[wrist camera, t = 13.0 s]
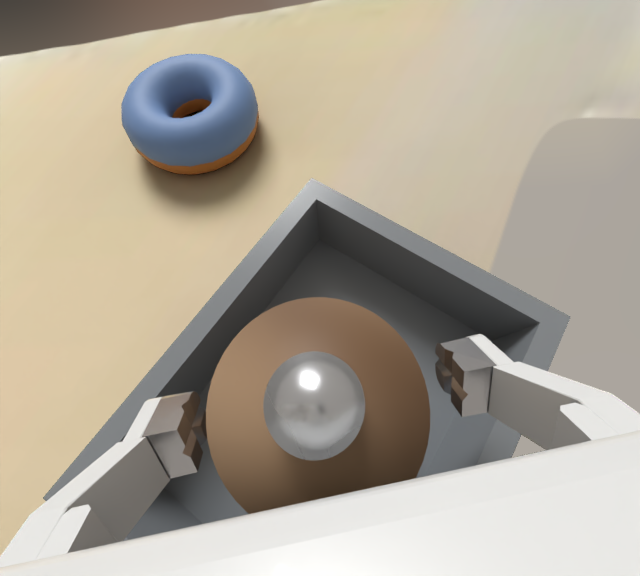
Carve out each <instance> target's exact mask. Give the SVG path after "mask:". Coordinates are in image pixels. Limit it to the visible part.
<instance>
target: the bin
mask: <svg viewBox="0 0 640 576" xmlns="http://www.w3.org/2000/svg"><path fill="white" fill-rule="evenodd" d="M310 297H327V298H335V299H340V300H344V301H348V302H351V303H354V304H357V305H359V306H362V307H364V308H366V309H367V310H369V311H371V312H373V313H375V314H376V315H378V316H379V317H380V318H382V319H383V320H385V321H386V322H387V323H388V324H389V325H390V326H391V327H392V328H394V329H395V330H396V331H397V333H398V334H399V335H400V336H401V337H402V338H403V339H404V341H405V342H406V343H407V345H408V346H409V348H410V349H411V351H412V352H413V354H414V356H415V358H416V360H417V362H418V364H419V366H420V368H421V371H422V374H423V377H424V379H425V383H426V387H427V391H428V395H429V404H430V432H429V440H428V446H427V449H426V453H425V456H424V460H423V463H422V465H421V467H420V470H419V472H418V474H417V477H416V478H419V477H424V476H429V475H433V474H438V473H442V472H447V471H452V470H456V469H461V468H466V467H470V466H475V465H480V464H484V463H489V462H494V461H498V460H503V459H508V458H512V455H513V453H514V450H515V448H516V446H517V443H518V441H519V439H520V436H521V434H520V433H518V432H517V431H515V430H513V429H512V428H510V427H509V426H507V425H505V424H504V423H502V422H501V421H499V420H497V419H496V418H494V417H492V416H491V415H489V414H488V413H482V414H477V415H471V416H465V417H461V415H460V414H459V413H458V411H457V410H456V408H455V407H454V405H453V404H452V402H451V395H450V394H448V393H446V392H444V391H443V389H442V388H441V386H440V384H439V382H438V380H437V376H436V371H435V364H436V362H437V361H438V359H439V357H438V356H437V355H436V353H435V347H436V344H437V343H441V342H445V341H450V340H455V339H460V338H465V337H468V336H472V335H477V334H482V335H484V336H485V337H486V338H487V339H489V340H490V341H491V342H492V343H493V344H494V345H495V346H496V347H498V348H499V349H500V350H501V351H502V352H503V353H504V354H505V355H507V356H508V357H509V358H510V359H511V360H512V361H513V362H522V363H525V364H528V365H530V366H533V367H536V368H539V369H542V370H545V371H548V369H549V367H550V365H551V362H552V360H553V358H554V355H555V353H556V350H557V348H558V346H559V343H560V341H561V338H562V336H563V333H564V331H565V329H566V327H567V324H568V322H569V319H570V316H568V315H566V314H565V313H563V312H561V311H559V310H557V309H555V308H553V307H552V306H550V305H548V304H546V303H544V302H542V301H540V300H538V299H537V298H535V297H533V296H531V295H529V294H527V293H525V292H523V291H522V290H520V289H518V288H516V287H514V286H512V285H510V284H509V283H507V282H505V281H503V280H501V279H499V278H497V277H496V276H494V275H492V274H490V273H488V272H486V271H484V270H482V269H481V268H479V267H477V266H475V265H473V264H471V263H469V262H468V261H466V260H464V259H462V258H460V257H458V256H456V255H454V254H453V253H451V252H449V251H447V250H445V249H443V248H441V247H440V246H438V245H436V244H434V243H432V242H430V241H428V240H427V239H425V238H423V237H421V236H419V235H417V234H415V233H413V232H412V231H410V230H408V229H406V228H404V227H402V226H400V225H399V224H397V223H395V222H393V221H391V220H389V219H387V218H385V217H384V216H382V215H380V214H378V213H376V212H374V211H372V210H371V209H369V208H367V207H365V206H363V205H361V204H359V203H357V202H356V201H354V200H352V199H350V198H348V197H346V196H344V195H343V194H341V193H339V192H337V191H335V190H333V189H331V188H330V187H328V186H326V185H324V184H322V183H320V182H318V181H316V180H315V179H313V178H311V179H310V180H309V182H308V183H307V184H306V185H305V186H304V188H303V189H302V190H301V191H300V192H299V194H298V195H297V196H296V197H295V198H294V200H293V201H292V202H291V203H290V204H289V205H288V207H287V208H286V209H285V210H284V211H283V213H282V214H281V215H280V216H279V217H278V219H277V220H276V221H275V222H274V223H273V225H272V226H271V227H270V228H269V229H268V231H267V232H266V233H265V234H264V235H263V236H262V238H261V239H260V240H259V241H258V242H257V244H256V245H255V246H254V247H253V248H252V250H251V251H250V252H249V253H248V254H247V256H246V257H245V258H244V259H243V260H242V261H241V263H240V264H239V265H238V266H237V267H236V269H235V270H234V271H233V272H232V273H231V275H230V276H229V277H228V278H227V279H226V281H225V282H224V283H223V284H222V285H221V286H220V288H219V289H218V290H217V291H216V292H215V294H214V295H213V296H212V297H211V298H210V300H209V301H208V302H207V303H206V304H205V306H204V307H203V308H202V309H201V310H200V312H199V313H198V314H197V315H196V316H195V317H194V319H193V320H192V321H191V322H190V323H189V325H188V326H187V327H186V328H185V329H184V331H183V332H182V333H181V334H180V335H179V337H178V338H177V339H176V340H175V341H174V342H173V344H172V345H171V346H170V347H169V348H168V350H167V351H166V352H165V353H164V354H163V356H162V357H161V358H160V359H159V360H158V362H157V363H156V364H155V365H154V366H153V368H152V369H151V370H150V371H149V372H148V373H147V375H146V376H145V377H144V378H143V379H142V381H141V382H140V383H139V384H138V385H137V387H136V388H135V389H134V390H133V391H132V393H131V394H130V395H129V396H128V397H127V398H126V400H125V401H124V402H123V403H122V404H121V406H120V407H119V408H118V409H117V410H116V412H115V413H114V414H113V415H112V416H111V418H110V419H109V420H108V421H107V422H106V424H105V425H104V426H103V427H102V428H101V429H100V431H99V432H98V433H97V434H96V435H95V437H94V438H93V439H92V440H91V441H90V443H89V444H88V445H87V446H86V447H85V449H84V450H83V451H82V452H81V453H80V454H79V456H78V457H77V458H76V459H75V460H74V462H73V463H72V464H71V465H70V466H69V468H68V469H67V470H66V471H65V472H64V474H63V475H62V476H61V477H60V478H59V479H58V481H57V482H56V483H55V484H54V485H53V487H52V488H51V489H50V490H49V491H48V493H47V494H46V495H45V496H44V497H43V499H44V500H45V501H47V500H48V499H50V498H51V497H52V496H53V495H55V494H56V493H57V492H58V491H59V490H61V489H62V488H63V487H64V486H65V485H67V484H68V483H69V482H70V481H72V480H73V479H74V478H75V477H76V476H78V475H79V474H80V473H81V472H82V471H84V470H85V469H86V468H87V467H88V466H90V465H91V464H92V463H93V462H95V461H96V460H97V459H98V458H99V457H101V456H102V455H103V454H104V453H105V452H107V451H108V450H109V449H110V448H111V447H113V446H114V445H115V444H116V443H118V442H123V440H124V438H125V436H126V434H127V433H128V431H129V429H130V427H131V426H132V424H133V422H134V420H135V418H136V417H137V415H138V413H139V411H140V410H141V408H142V406H143V404H144V403H145V402H146V401H147V400H149V399H153V398H158V397H164V396H169V395H174V394H180V393H186V392H191V391H195V392H197V393H198V395H199V397H200V399H201V401H200V404H199V407H201V408H203V409H204V410H205V411H206V406H207V398H208V392H209V388H210V384H211V381H212V377H213V375H214V372H215V370H216V367H217V365H218V363H219V361H220V359H221V357H222V355H223V353H224V352H225V350H226V349H227V347H228V346H229V344H230V343H231V341H232V340H233V339H234V338H235V337H236V335H237V334H238V333H239V332H240V331H241V330H242V329H243V328H244V327H245V326H246V325H247V324H249V323H250V322H251V321H252V320H253V319H255V318H256V317H258V316H259V315H260V314H262V313H264V312H265V311H267V310H269V309H271V308H273V307H275V306H278V305H280V304H283V303H285V302H289V301H293V300H297V299H302V298H310ZM201 449H202V451H203V455H202V458H201V462H200V466H199V469H198V472H196V473H192V474H187V475H183V476H179V477H175V478H171V479H170V481H169V482H168V483H167V485H166V486H165V487H164V489H163V490H162V491H161V492H160V494H159V495H158V496H157V498H156V499H155V500H154V501H153V503H152V504H151V505H150V507H149V508H148V509H147V510H146V512H145V513H144V514H143V516H142V517H141V518H140V520H139V521H138V522H137V523H136V525H135V526H134V527H133V529H132V530H131V531H130V532H129V534H128V535H127V536H126V538H125V539H124V540H123V541H126V540H131V539H135V538H140V537H144V536H149V535H154V534H158V533H163V532H168V531H172V530H177V529H182V528H186V527H191V526H196V525H200V524H205V523H210V522H214V521H219V520H224V519H228V518H233V517H238V516H242V515H247V514H249V513H247V512H246V511H245V510H244V509H243V508H242V507H241V506H240V505H239V504H238V503H237V502H236V501H235V499H234V498H233V497H232V495H231V494H230V493H229V491H228V490H227V488H226V487H225V485H224V484H223V482H222V480H221V478H220V476H219V474H218V472H217V470H216V467H215V465H214V462H213V459H212V457H211V453H210V449H209V444H208V439H207V440H206V441H205V442H204V443H203V444H202V445H201Z"/></svg>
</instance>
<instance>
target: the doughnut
mask: <svg viewBox="0 0 640 576" xmlns="http://www.w3.org/2000/svg"><path fill="white" fill-rule="evenodd" d="M198 111H202V112H200V113H198V114H195V115H193V116H190V117H185V116H186V115H189V114H191V113H193V112H198ZM183 117H185V118H183ZM258 118H259V115H258V105H257V101H256V97H255V93H254V90H253V87H252V85H251V84H250V82H249V81H248V80H247V78H246V77H245V76H244V75H243V73H242V72H241V71H240V70H239V69H238V68H236V67H235V66H233V65H232V64H230V63H228V62H227V61H225V60H223V59H221V58H217V57H213V56H210V55H206V54H185V55H180V56H174V57H170V58H167V59H165V60H162V61H160V62H157V63H155V64H153V65H151V66H150V67H149V68H147V69H146V70H144V71H143V72H141V73H140V74H139V75H138V76H137V77H136V78H135V79H134V81H133V82H132V83H131V84H130V85H129V87H128V89H127V92H126V94H125V96H124V99H123V102H122V124H123V127H124V129H125V131H126V133H127V135H128V137H129V139H130V141H131V142H132V144H133V146H134V147H135V148H136V150H137V152H138V153H139V154H141V155H142V156H143V157H144V158H145V159H147V160H148V161H149V162H150V163H152V164H153V165H154V166H156V167H158V168H161V169H164V170H167V171H170V172H173V173H176V174H200V173H205V172H210V171H214V170H217V169H219V168H221V167H223V166H225V165H227V164H229V163H231V162H233V161H234V160H235V159H236V158H237V157H239V156H240V155H241V154H242V153H243V152H244V151H246V149H247V148H248V146H249V144H250V143H251V141H252V140H253V138H254V136H255V133H256V129H257V124H258Z"/></svg>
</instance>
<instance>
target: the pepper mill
mask: <svg viewBox="0 0 640 576" xmlns="http://www.w3.org/2000/svg"><path fill="white" fill-rule="evenodd" d="M206 430H207V439H208V444H209V449H210V453H211V457H212V459H213V462H214V465H215V467H216V470H217V472H218V474H219V476H220V478H221V480H222V482H223V484H224V485H225V487H226V488H227V490H228V491H229V493H230V494H231V495H232V497H233V498H234V499H235V501H236V502H237V503H238V504H239V505H240V506H241V507H242V508H243V509H244V510H245V511H246V512H247V513H249V514H252V513H256V512H261V511H265V510H270V509H275V508H279V507H284V506H289V505H293V504H298V503H303V502H307V501H312V500H317V499H321V498H326V497H331V496H335V495H340V494H345V493H349V492H354V491H359V490H363V489H368V488H373V487H377V486H382V485H387V484H391V483H396V482H401V481H405V480H410V479H415V478H416V477H417V474H418V472H419V470H420V467H421V465H422V463H423V460H424V456H425V453H426V449H427V446H428V440H429V432H430V404H429V395H428V391H427V387H426V383H425V379H424V377H423V374H422V371H421V368H420V366H419V364H418V362H417V360H416V358H415V356H414V354H413V352H412V351H411V349H410V348H409V346H408V345H407V343H406V342H405V341H404V339H403V338H402V337H401V336H400V335H399V334H398V333H397V331H396V330H395V329H394V328H392V327H391V326H390V325H389V324H388V323H387V322H386V321H385V320H383V319H382V318H380V317H379V316H378V315H376V314H375V313H373V312H371V311H369V310H367V309H366V308H364V307H362V306H359V305H357V304H354V303H351V302H348V301H344V300H340V299H335V298H327V297H310V298H302V299H297V300H293V301H289V302H285V303H283V304H280V305H278V306H275V307H273V308H271V309H269V310H267V311H265V312H264V313H262V314H260V315H259V316H258V317H256V318H255V319H253V320H252V321H251V322H250V323H249V324H247V325H246V326H245V327H244V328H243V329H242V330H241V331H240V332H239V333H238V334H237V335H236V337H235V338H234V339H233V340H232V341H231V343H230V344H229V346H228V347H227V349H226V350H225V352H224V353H223V355H222V357H221V359H220V361H219V363H218V365H217V367H216V370H215V372H214V375H213V377H212V381H211V384H210V388H209V392H208V398H207V406H206Z"/></svg>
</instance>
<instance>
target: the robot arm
mask: <svg viewBox="0 0 640 576" xmlns="http://www.w3.org/2000/svg"><path fill="white" fill-rule="evenodd" d="M435 353H436V355H437V356H438V357H439V359H438V361H437V362H436V364H435V371H436V376H437V380H438V382H439V384H440V386H441V388H442V389H443V391H444V392H446V393H448V394H450V395H451V402H452V404H453V405H454V407H455V408H456V410H457V411H458V413H459V414H460V415H461V417H465V416H471V415H477V414H482V413H488V414H489V415H491V416H492V417H494V418H496V419H497V420H499V421H501V422H502V423H504V424H505V425H507V426H509V427H510V428H512V429H513V430H515V431H517V432H518V433H520V434H522V435H523V436H525V437H526V438H528V439H530V440H531V441H533V442H535V443H536V444H538V445H539V446H541V447H542V448H544V449H546V450H545V451H540V452H536V453H531V454H527V455H522V456H517V457H513V458H508V459H503V460H498V461H494V462H489V463H484V464H480V465H475V466H470V467H466V468H461V469H456V470H452V471H447V472H442V473H438V474H433V475H429V476H424V477H419V478H415V479H410V480H405V481H401V482H396V483H391V484H387V485H382V486H377V487H373V488H368V489H363V490H359V491H354V492H349V493H345V494H340V495H335V496H331V497H326V498H321V499H317V500H312V501H307V502H303V503H298V504H293V505H289V506H284V507H279V508H275V509H270V510H265V511H261V512H256V513H252V514H247V515H242V516H238V517H233V518H228V519H224V520H219V521H214V522H210V523H205V524H200V525H196V526H191V527H186V528H182V529H177V530H172V531H168V532H163V533H158V534H154V535H149V536H144V537H140V538H135V539H131V540H126V541H123V540H124V539H125V538H126V536H127V535H128V534H129V532H130V531H131V530H132V529H133V527H134V526H135V525H136V523H137V522H138V521H139V520H140V518H141V517H142V516H143V514H144V513H145V512H146V510H147V509H148V508H149V507H150V505H151V504H152V503H153V501H154V500H155V499H156V498H157V496H158V495H159V494H160V492H161V491H162V490H163V489H164V487H165V486H166V485H167V483H168V482H169V481H170V479H171V478H175V477H179V476H183V475H187V474H192V473H196V472H198V469H199V466H200V462H201V458H202V455H203V451H202V449H201V445H202V444H203V443H204V442H205V441H206V440H207V430H206V411H205V410H204V409H203V408H201V407H199V404H200V401H201V399H200V397H199V395H198V393H197V392H195V391H191V392H186V393H180V394H174V395H169V396H164V397H158V398H153V399H149V400H147V401H146V402H145V403H144V404H143V406H142V408H141V410H140V411H139V413H138V415H137V417H136V418H135V420H134V422H133V424H132V426H131V427H130V429H129V431H128V433H127V434H126V436H125V438H124V440H123V442H118V443H116V444H115V445H114V446H113V447H111V448H110V449H109V450H108V451H107V452H105V453H104V454H103V455H102V456H101V457H99V458H98V459H97V460H96V461H95V462H93V463H92V464H91V465H90V466H88V467H87V468H86V469H85V470H84V471H82V472H81V473H80V474H79V475H78V476H76V477H75V478H74V479H73V480H72V481H70V482H69V483H68V484H67V485H65V486H64V487H63V488H62V489H61V490H59V491H58V492H57V493H56V494H55V495H53V496H52V497H51V498H50V499H48V500H47V501H46V502H45V503H44V504H42V505H41V506H40V507H39V508H38V509H36V510H35V511H34V512H33V513H32V514H30V515H29V517H28V518H27V520H26V521H25V522H24V524H23V525H22V527H21V528H20V529H19V531H18V532H17V534H16V535H15V537H14V538H13V539H12V541H11V542H10V544H9V545H8V547H7V548H6V549H5V551H4V552H3V554H2V555H1V556H0V576H640V414H639V413H638V412H636V411H635V410H634V409H632V408H631V407H630V406H628V405H627V404H625V403H624V402H623V401H621V400H620V399H619V398H617V397H616V396H614V395H613V394H611V393H608V392H605V391H603V390H600V389H597V388H594V387H591V386H588V385H585V384H582V383H579V382H576V381H574V380H571V379H568V378H565V377H562V376H559V375H556V374H553V373H550V372H548V371H545V370H542V369H539V368H536V367H533V366H530V365H528V364H525V363H522V362H513V361H512V360H511V359H510V358H509V357H508V356H507V355H505V354H504V353H503V352H502V351H501V350H500V349H499V348H498V347H496V346H495V345H494V344H493V343H492V342H491V341H490V340H489V339H487V338H486V337H485V336H484V335H482V334H477V335H472V336H468V337H465V338H460V339H455V340H450V341H445V342H441V343H437V344H436V347H435Z"/></svg>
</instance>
